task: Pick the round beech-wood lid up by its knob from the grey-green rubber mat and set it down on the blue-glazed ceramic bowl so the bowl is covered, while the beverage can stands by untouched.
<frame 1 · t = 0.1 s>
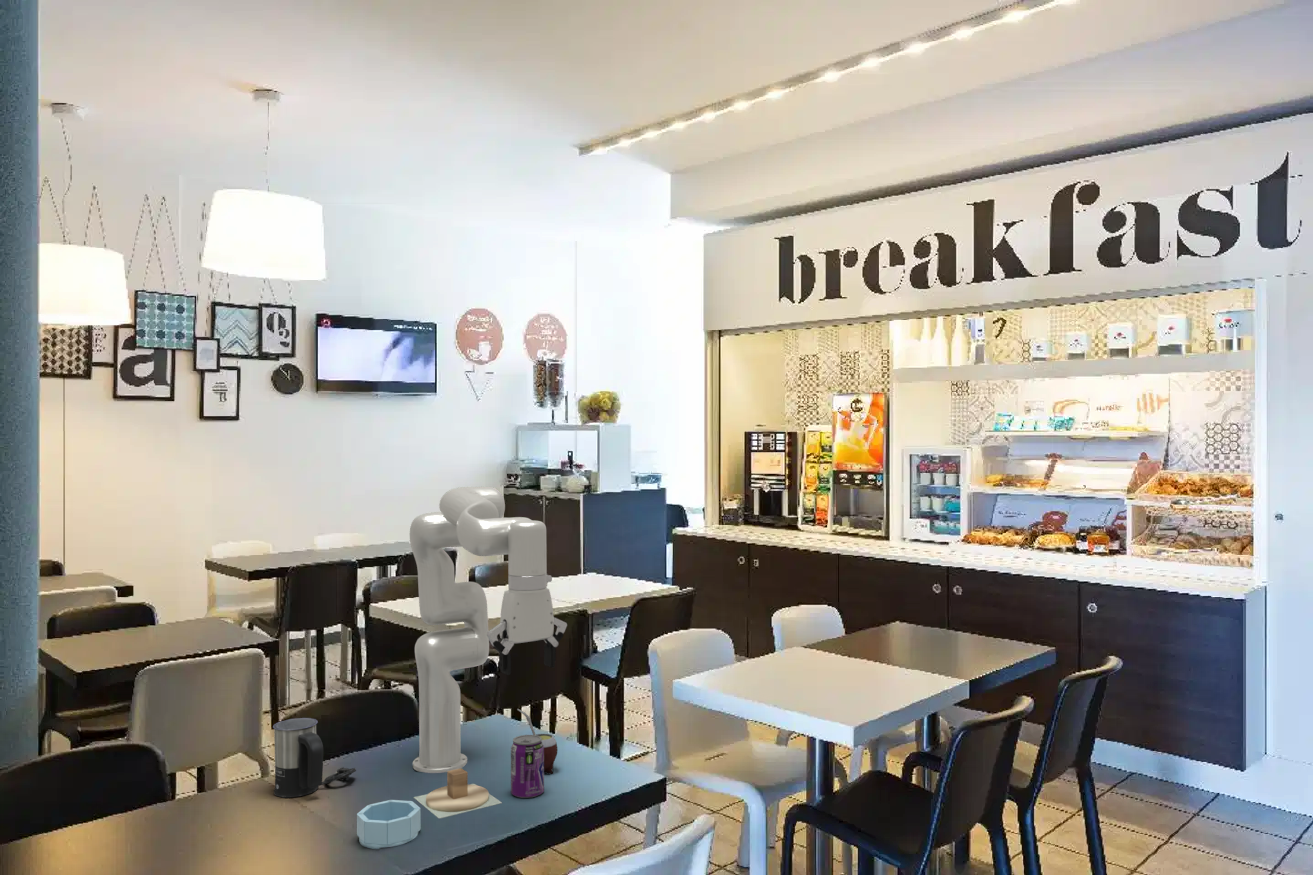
hand: (528, 669, 186), 31 cm above the table, tool pointing down, fingers open, 9 cm apart
bowl: (389, 836, 182), on the table
lid: (457, 799, 200), resting on mat
milk frother: (315, 788, 209), on the table
mate gourd: (540, 772, 218), on the table
beverage can: (527, 795, 204), on the table
mat: (457, 801, 200), on the table
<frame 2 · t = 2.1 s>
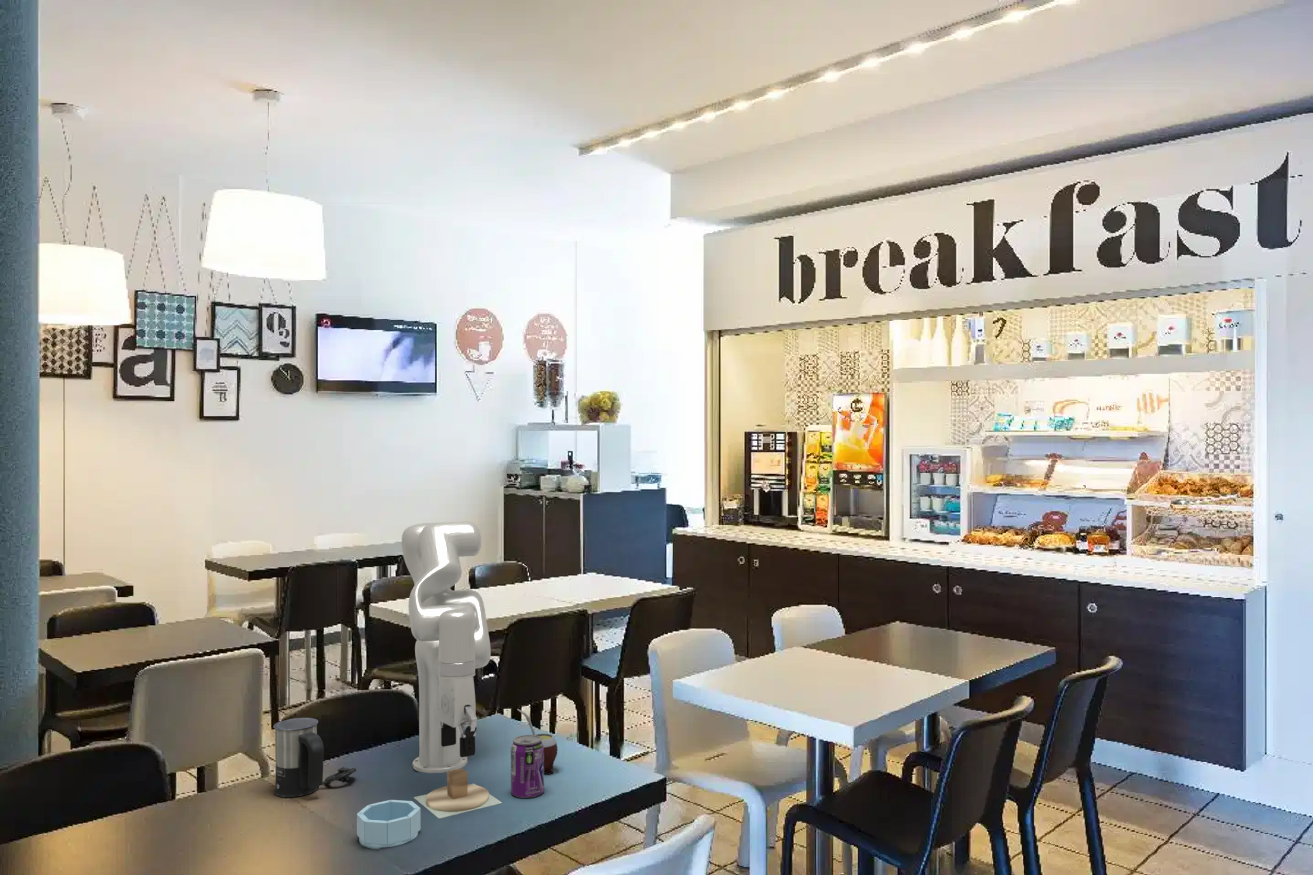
hand: (457, 750, 199), 11 cm above the table, tool pointing down, fingers open, 9 cm apart
nothing on the table moved.
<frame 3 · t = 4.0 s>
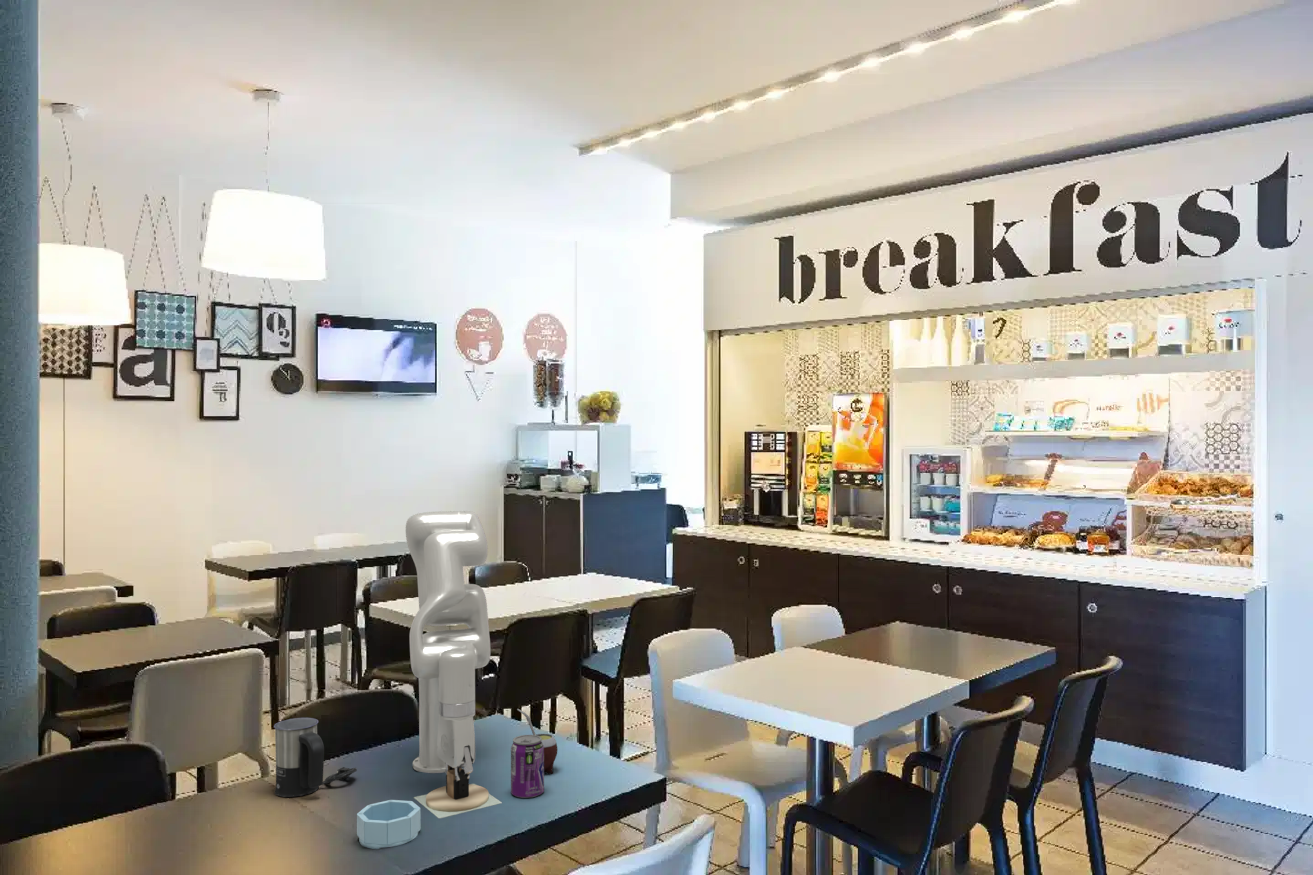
hand: (457, 794, 200), 2 cm above the table, tool pointing down, fingers closed on lid, 3 cm apart
lid: (457, 799, 200), resting on mat, touching gripper
everything else where it was.
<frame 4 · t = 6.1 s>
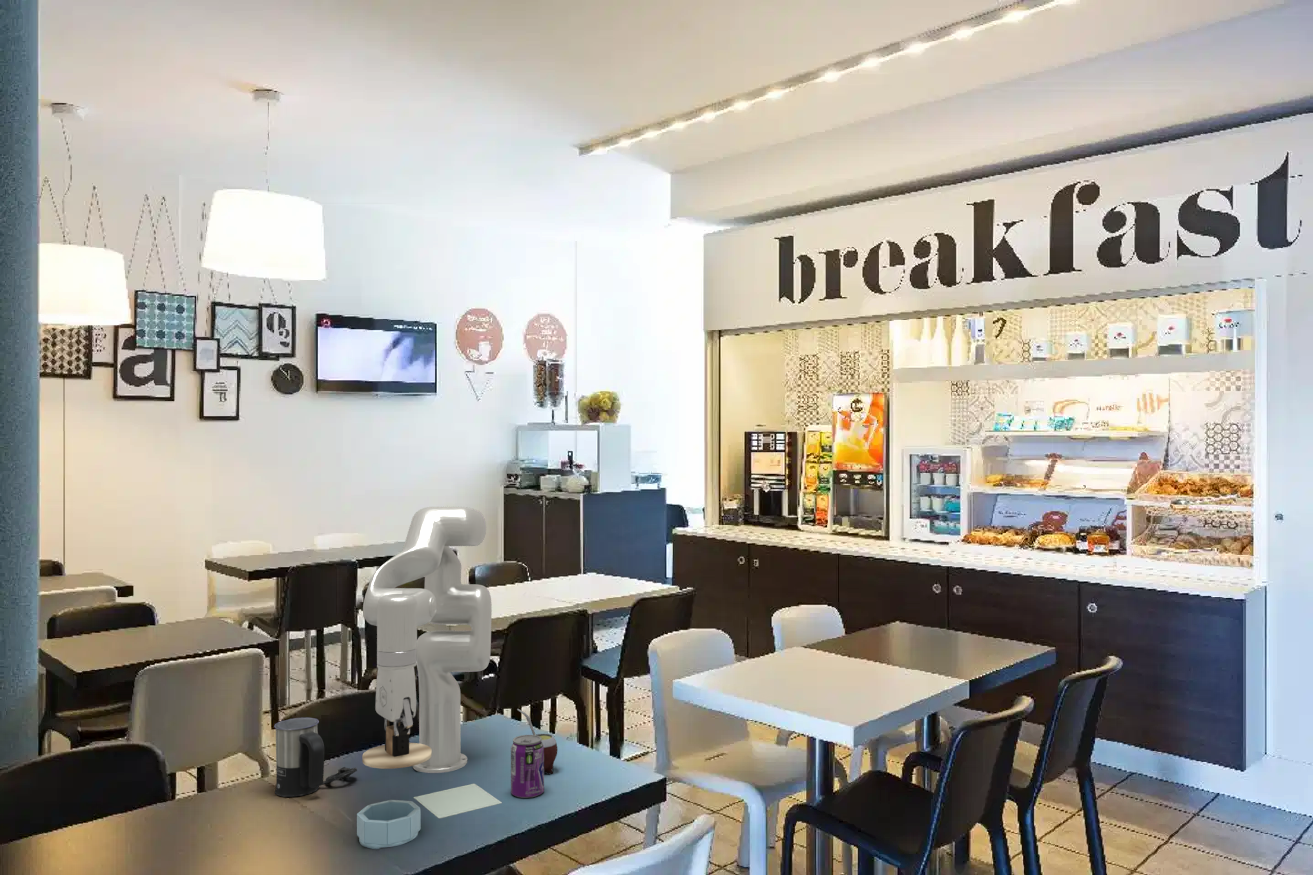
hand: (397, 751, 184), 16 cm above the table, tool pointing down, fingers closed on lid, 3 cm apart
lid: (397, 757, 184), point 15 cm above the table, touching gripper
everything else where it was.
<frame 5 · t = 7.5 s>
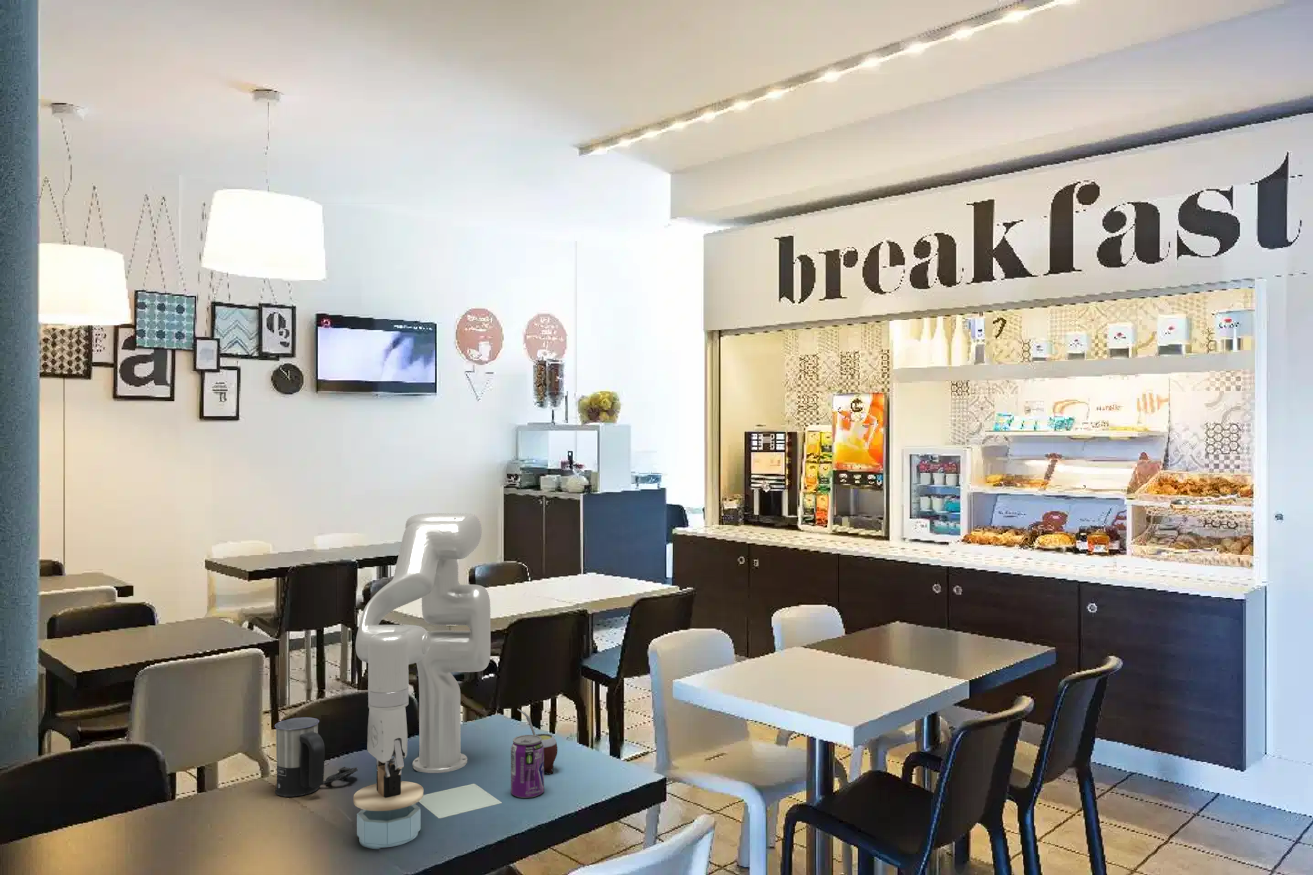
hand: (388, 792, 182), 9 cm above the table, tool pointing down, fingers closed on lid, 3 cm apart
lid: (388, 797, 182), point 8 cm above the table, touching gripper
everything else where it was.
when the fingers open (8 cm above the table, at t = 8.3 s): lid drops 2 cm, resting on bowl.
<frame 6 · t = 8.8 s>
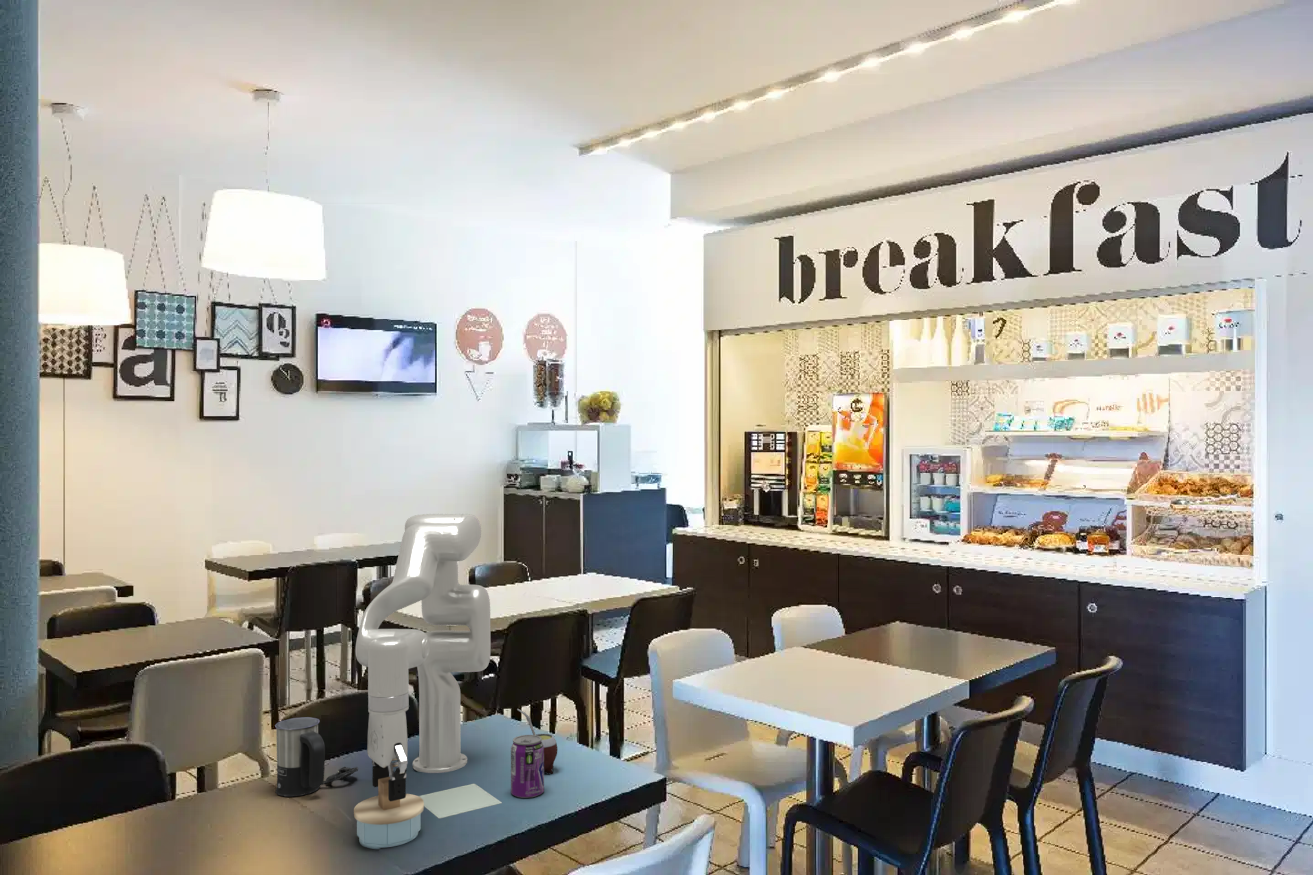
hand: (388, 791, 182), 9 cm above the table, tool pointing down, fingers open, 8 cm apart
lid: (389, 810, 182), point 5 cm above the table, touching bowl
everything else where it was.
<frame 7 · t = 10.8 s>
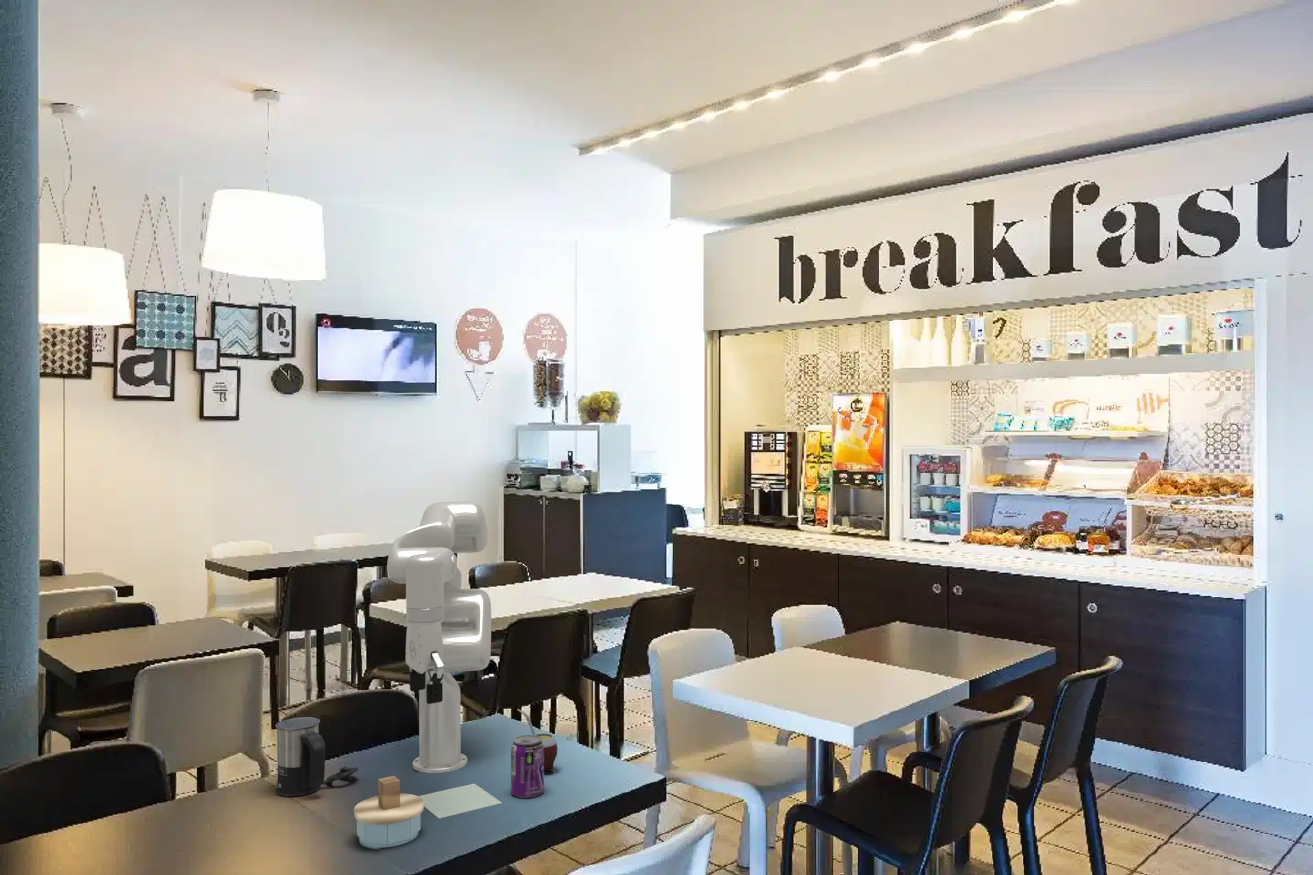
hand: (426, 696, 195), 24 cm above the table, tool pointing down, fingers open, 9 cm apart
nothing on the table moved.
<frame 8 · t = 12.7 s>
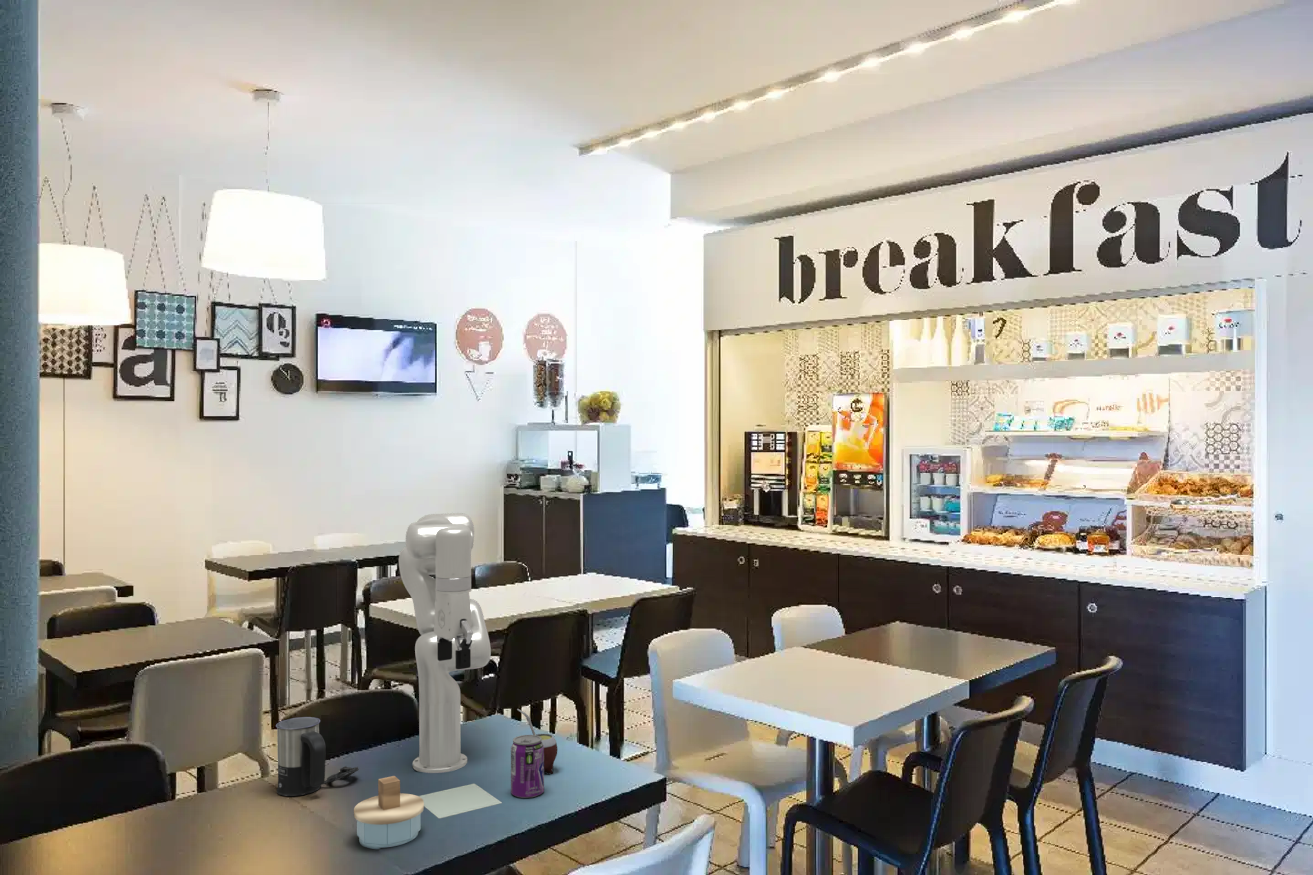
hand: (453, 664, 204), 28 cm above the table, tool pointing down, fingers open, 9 cm apart
nothing on the table moved.
at the end: lid 0.1 cm off-centre on the bowl, point 5.0 cm above the bowl's base; lid tilted 0°; the gripper is holding nothing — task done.
